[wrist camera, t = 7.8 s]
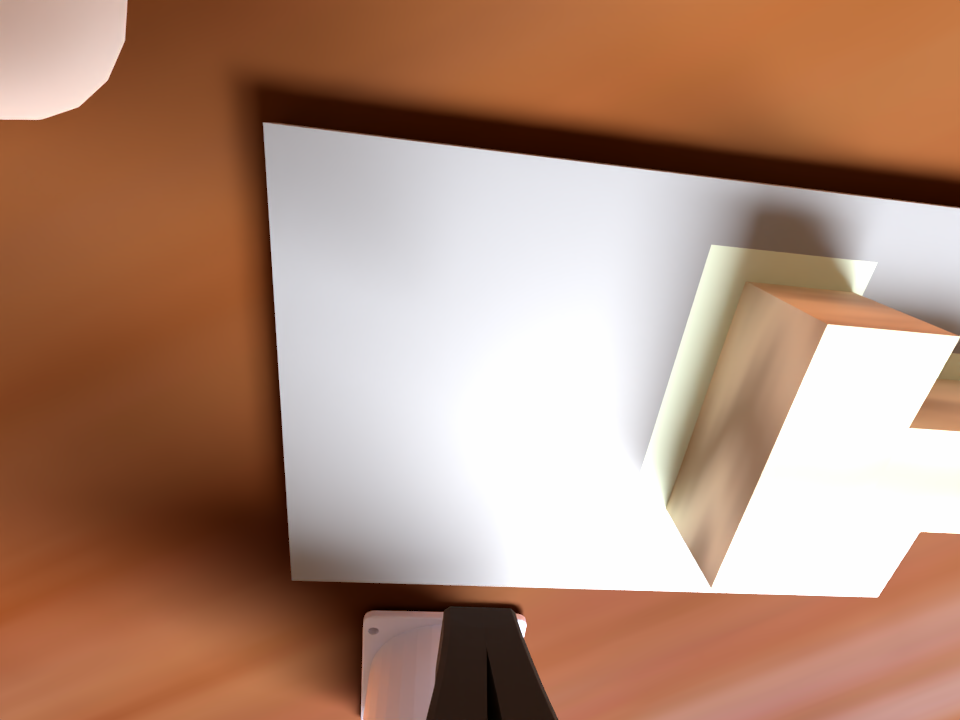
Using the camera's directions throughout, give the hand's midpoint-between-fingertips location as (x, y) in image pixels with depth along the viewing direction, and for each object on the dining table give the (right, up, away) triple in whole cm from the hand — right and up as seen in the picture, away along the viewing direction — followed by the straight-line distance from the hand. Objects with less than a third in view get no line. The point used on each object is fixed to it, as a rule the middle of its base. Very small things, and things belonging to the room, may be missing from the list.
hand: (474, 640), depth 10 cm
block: (+14, +3, +10) cm, 17 cm away
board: (+7, +4, +10) cm, 13 cm away
